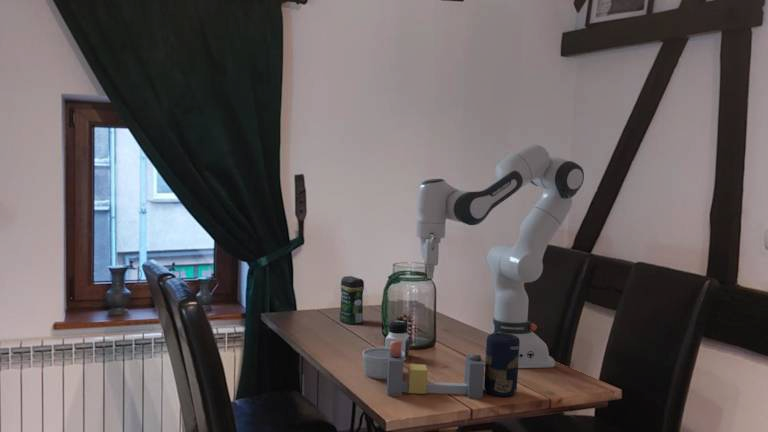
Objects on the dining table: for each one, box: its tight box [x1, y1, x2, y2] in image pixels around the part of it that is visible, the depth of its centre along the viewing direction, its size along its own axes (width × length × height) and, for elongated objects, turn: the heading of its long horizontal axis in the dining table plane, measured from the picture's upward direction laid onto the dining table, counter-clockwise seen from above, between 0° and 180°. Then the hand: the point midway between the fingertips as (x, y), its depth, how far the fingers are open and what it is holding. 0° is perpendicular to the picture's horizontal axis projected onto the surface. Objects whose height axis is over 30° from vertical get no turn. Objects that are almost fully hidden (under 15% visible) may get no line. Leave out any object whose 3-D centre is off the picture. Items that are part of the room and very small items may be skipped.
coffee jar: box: [339, 275, 365, 325], centre depth 287 cm, size 10×8×19 cm
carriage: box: [407, 363, 428, 395], centre depth 205 cm, size 5×6×7 cm
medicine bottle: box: [384, 320, 411, 361], centre depth 240 cm, size 7×7×12 cm
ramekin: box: [362, 347, 405, 380], centre depth 220 cm, size 13×13×7 cm
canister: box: [483, 332, 520, 397], centre depth 206 cm, size 10×10×18 cm
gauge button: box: [390, 340, 402, 357], centre depth 204 cm, size 3×3×4 cm
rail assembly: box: [386, 352, 485, 399], centre depth 205 cm, size 27×9×11 cm, turn 91°
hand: (428, 275), depth 220 cm, fingers open, 8 cm apart
